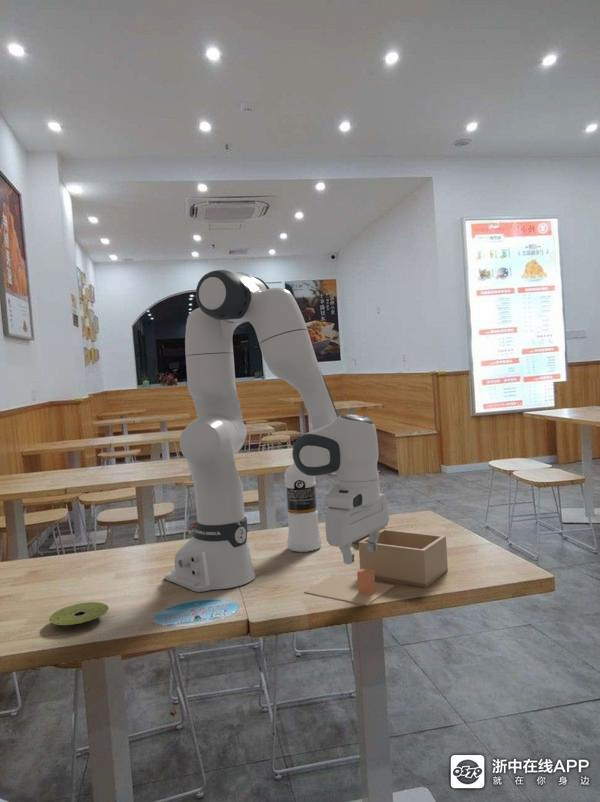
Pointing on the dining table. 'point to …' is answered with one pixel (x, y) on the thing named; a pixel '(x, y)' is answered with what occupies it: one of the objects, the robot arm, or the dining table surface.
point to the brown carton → (406, 557)
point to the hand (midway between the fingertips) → (360, 556)
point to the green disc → (78, 613)
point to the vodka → (301, 510)
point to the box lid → (351, 588)
